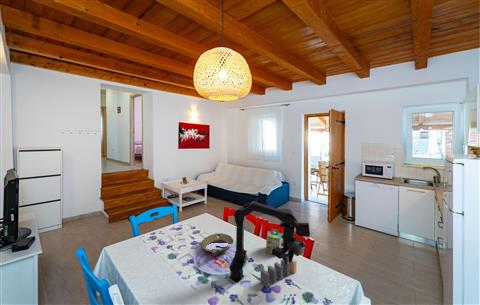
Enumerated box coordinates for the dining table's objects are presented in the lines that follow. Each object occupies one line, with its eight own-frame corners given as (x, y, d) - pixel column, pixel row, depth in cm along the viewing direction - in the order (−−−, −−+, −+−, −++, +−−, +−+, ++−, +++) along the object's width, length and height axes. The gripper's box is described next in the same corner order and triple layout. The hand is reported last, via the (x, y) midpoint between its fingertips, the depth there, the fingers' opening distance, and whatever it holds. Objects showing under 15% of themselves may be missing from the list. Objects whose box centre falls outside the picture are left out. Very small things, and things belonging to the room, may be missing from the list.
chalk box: (265, 253, 138) (265, 231, 137) (269, 246, 146) (269, 226, 145) (279, 256, 134) (279, 234, 133) (282, 249, 143) (282, 228, 141)
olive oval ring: (238, 242, 152) (238, 232, 152) (219, 266, 125) (219, 254, 124) (212, 237, 161) (211, 228, 160) (188, 258, 133) (188, 247, 132)
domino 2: (274, 283, 109) (273, 271, 108) (267, 278, 113) (267, 266, 113) (276, 282, 110) (276, 270, 109) (270, 277, 114) (270, 265, 114)
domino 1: (266, 287, 106) (266, 274, 106) (260, 282, 110) (260, 269, 110) (269, 286, 107) (269, 273, 107) (263, 281, 111) (263, 268, 111)
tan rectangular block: (294, 273, 117) (294, 261, 116) (287, 269, 121) (287, 257, 120) (296, 272, 118) (296, 260, 117) (289, 268, 122) (289, 256, 121)
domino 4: (287, 276, 114) (287, 264, 114) (280, 271, 119) (280, 260, 118) (289, 275, 115) (289, 263, 115) (283, 270, 120) (283, 259, 119)
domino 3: (280, 280, 112) (280, 267, 111) (274, 275, 116) (274, 263, 115) (283, 278, 113) (283, 266, 112) (276, 273, 117) (276, 262, 116)
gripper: (288, 247, 94) (287, 279, 96) (313, 235, 105) (312, 264, 106) (271, 237, 104) (271, 267, 105) (295, 228, 114) (295, 255, 115)
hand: (288, 263), depth 108 cm, fingers open, 3 cm apart
